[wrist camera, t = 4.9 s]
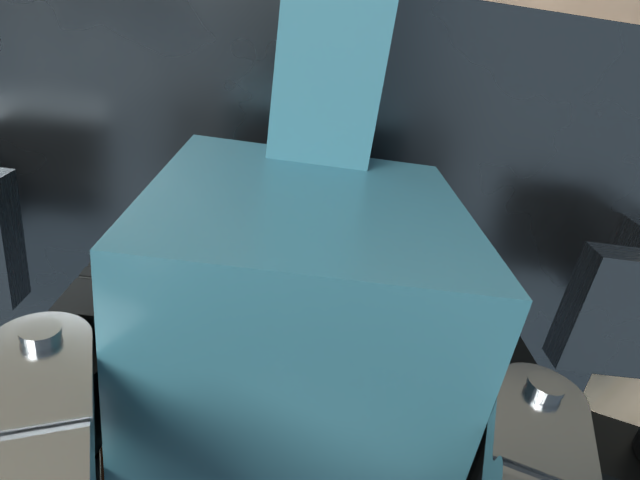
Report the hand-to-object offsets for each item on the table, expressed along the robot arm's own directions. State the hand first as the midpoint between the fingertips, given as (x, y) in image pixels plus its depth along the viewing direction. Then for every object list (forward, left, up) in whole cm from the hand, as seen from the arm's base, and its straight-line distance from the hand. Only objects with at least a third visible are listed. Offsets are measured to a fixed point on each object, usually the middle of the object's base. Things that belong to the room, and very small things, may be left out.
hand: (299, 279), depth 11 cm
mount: (0, 0, -4) cm, 4 cm away
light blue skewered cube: (0, 0, -1) cm, 1 cm away
